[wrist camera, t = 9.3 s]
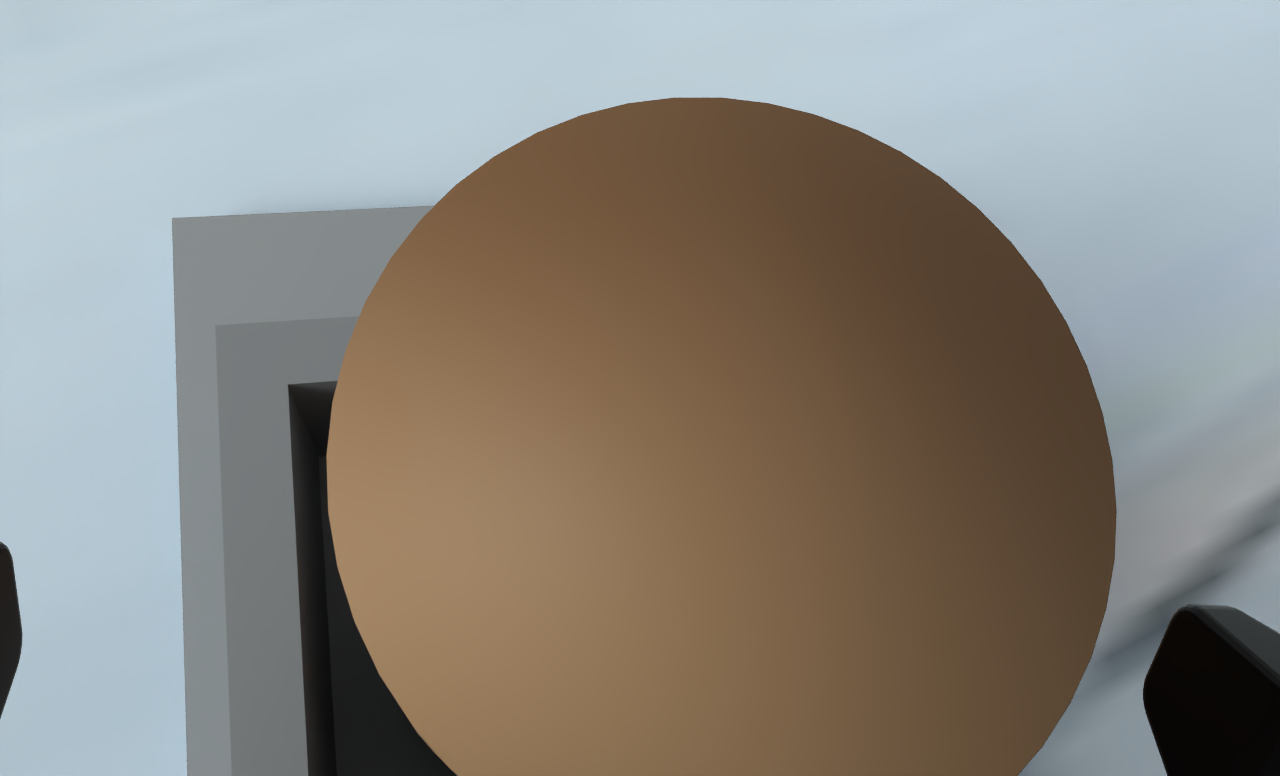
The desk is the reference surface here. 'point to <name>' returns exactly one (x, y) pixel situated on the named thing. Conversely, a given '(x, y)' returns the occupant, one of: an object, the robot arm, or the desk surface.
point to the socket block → (275, 497)
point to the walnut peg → (719, 462)
